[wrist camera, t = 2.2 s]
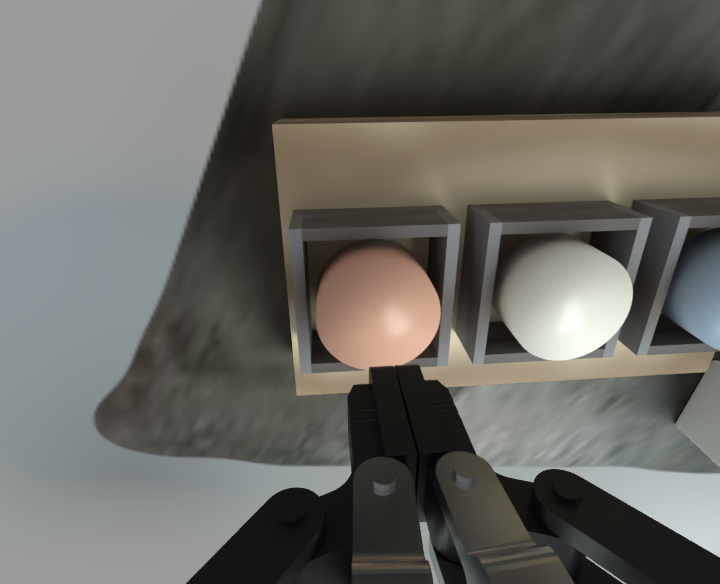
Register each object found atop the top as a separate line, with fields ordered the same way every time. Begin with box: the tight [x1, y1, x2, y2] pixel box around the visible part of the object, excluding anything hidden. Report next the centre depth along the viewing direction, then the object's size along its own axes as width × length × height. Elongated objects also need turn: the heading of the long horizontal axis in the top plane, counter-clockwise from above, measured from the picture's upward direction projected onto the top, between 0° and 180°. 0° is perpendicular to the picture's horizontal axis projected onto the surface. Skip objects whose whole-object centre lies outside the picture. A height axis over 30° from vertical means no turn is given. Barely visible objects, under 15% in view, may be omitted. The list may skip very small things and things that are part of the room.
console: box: [272, 112, 720, 396], centre depth 22 cm, size 14×24×7 cm, turn 90°
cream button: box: [492, 233, 633, 361], centre depth 19 cm, size 5×5×2 cm
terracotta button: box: [316, 239, 441, 370], centre depth 18 cm, size 5×5×2 cm
